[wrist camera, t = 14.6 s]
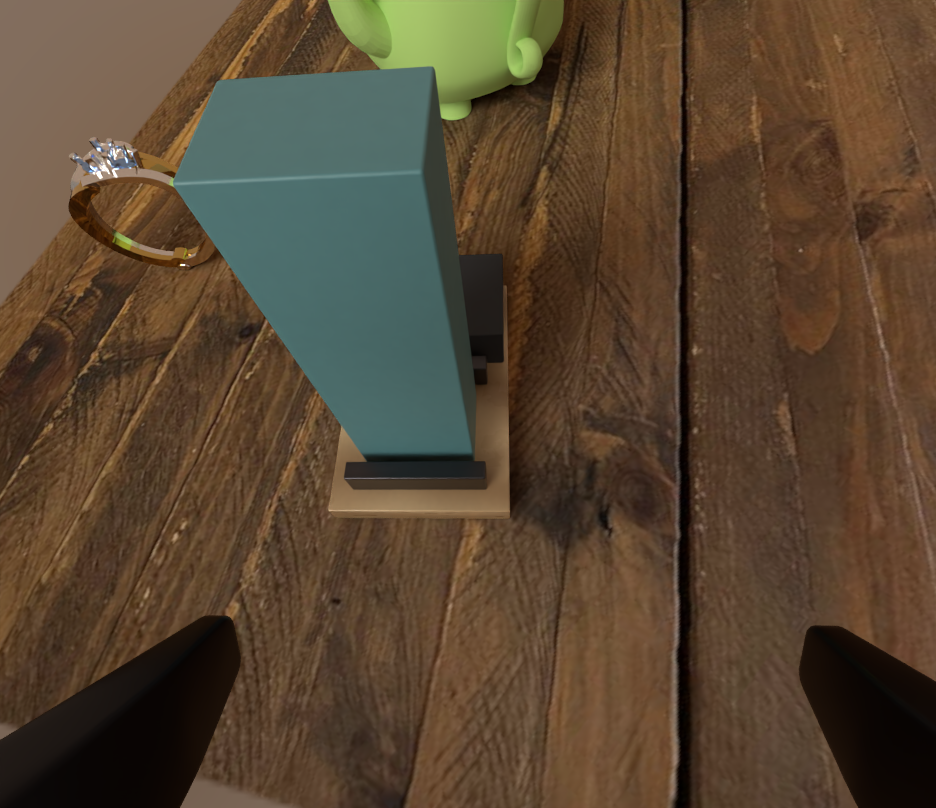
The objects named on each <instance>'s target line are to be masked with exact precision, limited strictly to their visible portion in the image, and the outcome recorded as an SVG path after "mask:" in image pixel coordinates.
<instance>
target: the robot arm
mask: <svg viewBox="0 0 936 808" xmlns="http://www.w3.org/2000/svg"><path fill="white" fill-rule="evenodd" d="M240 662H241V656H240V650H239V646H238V641H237V637H236V632H235V627H234V623H233V621H232V619H231V618H230V617H228V616H216V615H208V616H203V617H201V618H200V619H198V620H196V621H195V622H193V623H191V624H190V625H188V626H186V627H185V628H183V629H181V630H180V631H178V632H177V633H175V634H173V635H172V636H170V637H168V638H167V639H165V640H163V641H162V642H160V643H159V644H157V645H155V646H154V647H152V648H150V649H149V650H147V651H145V652H144V653H142V654H140V655H139V656H137V657H136V658H134V659H132V660H131V661H129V662H127V663H126V664H124V665H122V666H121V667H119V668H118V669H116V670H114V671H113V672H111V673H109V674H108V675H106V676H104V677H103V678H101V679H99V680H98V681H96V682H95V683H93V684H91V685H90V686H88V687H86V688H85V689H83V690H81V691H80V692H78V693H76V694H75V695H73V696H72V697H70V698H68V699H67V700H65V701H63V702H62V703H60V704H58V705H57V706H55V707H54V708H52V709H50V710H49V711H47V712H45V713H44V714H42V715H40V716H39V717H37V718H35V719H34V720H32V721H31V722H29V723H27V724H26V725H24V726H22V727H21V728H19V729H17V730H16V731H14V732H13V733H11V734H9V735H8V736H6V737H4V738H3V739H1V740H0V808H180V806H181V805H182V803H183V801H184V798H185V797H186V795H187V793H188V791H189V789H190V786H191V785H192V783H193V780H194V778H195V776H196V774H197V772H198V770H199V768H200V765H201V763H202V761H203V758H204V756H205V754H206V751H207V749H208V746H209V744H210V741H211V739H212V736H213V734H214V731H215V729H216V726H217V724H218V721H219V719H220V716H221V714H222V711H223V709H224V706H225V704H226V702H227V699H228V697H229V694H230V692H231V689H232V687H233V684H234V682H235V679H236V677H237V674H238V671H239V668H240ZM799 676H800V681H801V684H802V687H803V689H804V692H805V694H806V696H807V698H808V700H809V703H810V705H811V707H812V709H813V711H814V714H815V716H816V718H817V720H818V723H819V725H820V727H821V729H822V731H823V734H824V736H825V738H826V740H827V742H828V745H829V747H830V749H831V751H832V753H833V756H834V758H835V760H836V762H837V764H838V767H839V769H840V771H841V773H842V775H843V778H844V780H845V782H846V784H847V786H848V788H849V790H850V792H851V794H852V796H853V798H854V800H855V802H856V804H857V806H858V808H936V681H934V680H932V679H931V678H929V677H927V676H925V675H924V674H922V673H920V672H919V671H917V670H915V669H913V668H912V667H910V666H908V665H907V664H905V663H903V662H901V661H900V660H898V659H896V658H894V657H893V656H891V655H889V654H888V653H886V652H884V651H882V650H881V649H879V648H877V647H876V646H874V645H872V644H870V643H869V642H867V641H865V640H864V639H862V638H860V637H858V636H857V635H855V634H853V633H852V632H850V631H848V630H846V629H844V628H843V627H839V626H817V625H815V626H811V627H810V628H809V629H808V630H807V632H806V635H805V640H804V646H803V651H802V656H801V661H800V666H799Z"/></svg>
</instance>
